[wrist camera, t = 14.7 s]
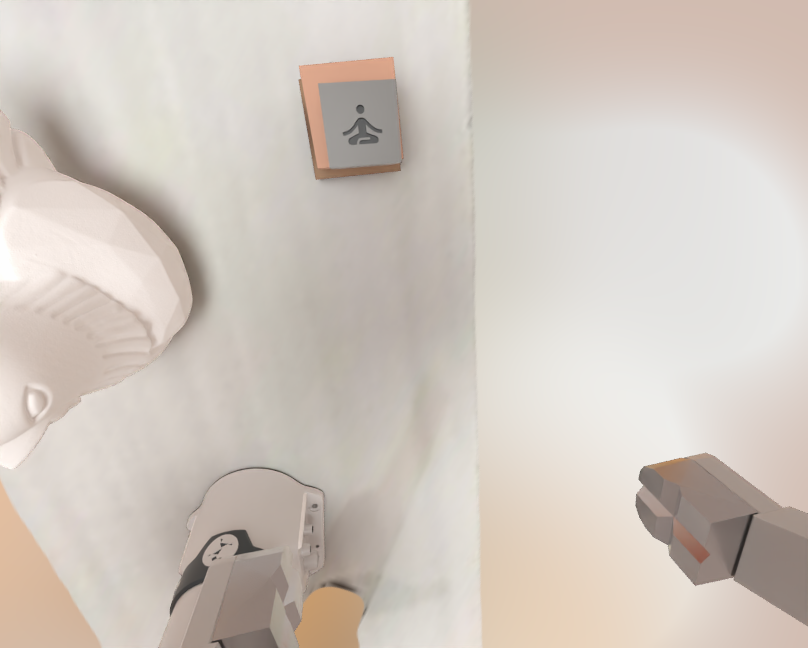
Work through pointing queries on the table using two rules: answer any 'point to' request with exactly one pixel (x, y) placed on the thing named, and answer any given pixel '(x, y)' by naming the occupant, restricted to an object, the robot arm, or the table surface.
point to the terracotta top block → (331, 74)
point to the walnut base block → (347, 171)
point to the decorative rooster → (74, 292)
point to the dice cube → (361, 123)
